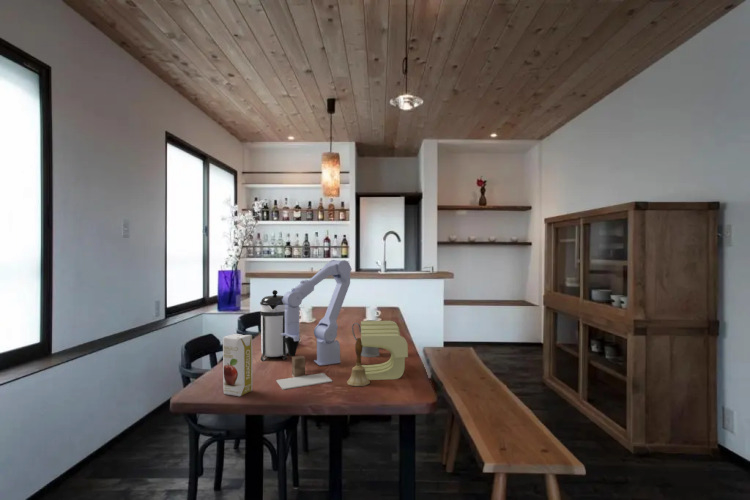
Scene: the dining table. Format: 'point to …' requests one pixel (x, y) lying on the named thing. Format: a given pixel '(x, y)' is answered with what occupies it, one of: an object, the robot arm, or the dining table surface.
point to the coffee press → (273, 327)
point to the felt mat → (303, 381)
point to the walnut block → (298, 366)
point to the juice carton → (237, 364)
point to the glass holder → (367, 350)
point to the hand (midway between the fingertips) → (292, 355)
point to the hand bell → (358, 369)
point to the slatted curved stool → (386, 338)
